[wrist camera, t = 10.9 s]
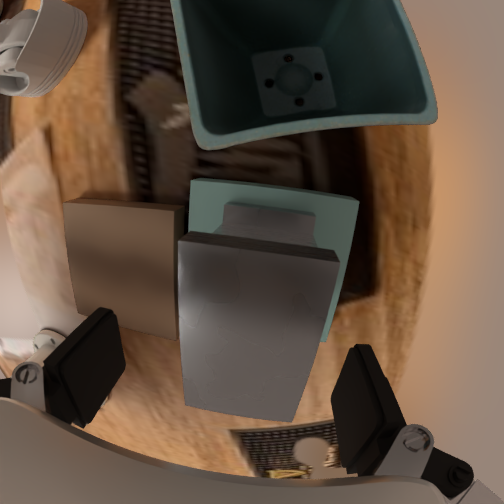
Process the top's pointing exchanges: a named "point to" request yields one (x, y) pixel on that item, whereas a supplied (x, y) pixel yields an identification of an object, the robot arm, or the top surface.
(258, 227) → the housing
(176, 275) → the stand
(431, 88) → the flower pot
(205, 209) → the stand
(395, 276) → the top surface
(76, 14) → the engine component
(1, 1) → the canister
